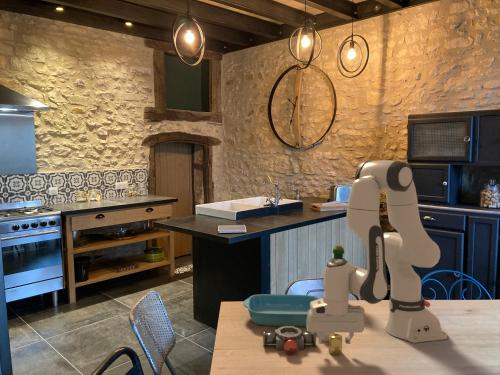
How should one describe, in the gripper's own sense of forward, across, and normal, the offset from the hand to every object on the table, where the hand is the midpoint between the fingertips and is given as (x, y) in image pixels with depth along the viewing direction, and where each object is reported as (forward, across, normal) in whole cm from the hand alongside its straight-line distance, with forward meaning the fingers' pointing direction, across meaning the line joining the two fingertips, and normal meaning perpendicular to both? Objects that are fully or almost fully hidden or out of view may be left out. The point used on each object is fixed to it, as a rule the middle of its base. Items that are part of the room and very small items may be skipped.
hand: (334, 343), depth 142 cm
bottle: (+3, -12, -46) cm, 48 cm away
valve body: (+4, +16, -5) cm, 17 cm away
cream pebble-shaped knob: (+4, 0, -11) cm, 12 cm away
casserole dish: (+4, +14, -30) cm, 34 cm away
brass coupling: (+4, 0, 0) cm, 4 cm away
